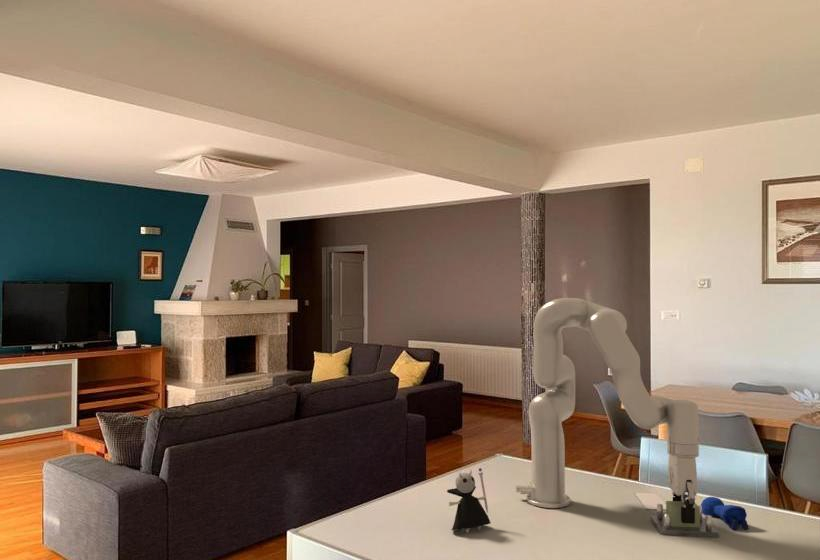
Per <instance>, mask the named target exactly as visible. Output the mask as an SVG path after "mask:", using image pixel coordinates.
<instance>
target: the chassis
mask: <svg viewBox="0 0 820 560" xmlns="http://www.w3.org/2000/svg"><path fill="white" fill-rule="evenodd" d="M697 506H698V507H699V508H700V527H677V526H671V525H670V514H668V513H666V512H665V513H664V510H663V505H662V504H657V510H656V511H657V512H656V515H650V521H651V523H652V524H653V525H654V527H655V529H656V530H657V532H658V533H659V534H660V536H661V535H665V536H683V537H685V536H686V537H704V538H705V537H706V538H708V537H709V538H719V537H720V532H719V530H717V528H716V527H715V526H714V525H713V523H712V521H713V520H712V516H710V515H704V516H705V517H703V513H702V506H701V504H700V505H699V504H697Z"/></svg>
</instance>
